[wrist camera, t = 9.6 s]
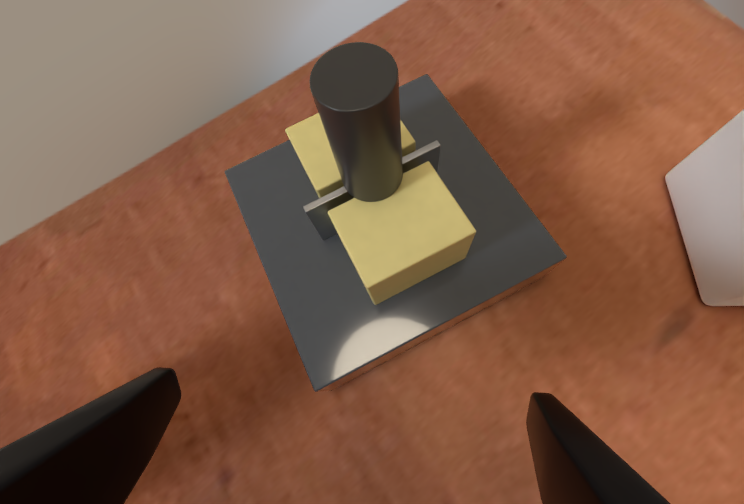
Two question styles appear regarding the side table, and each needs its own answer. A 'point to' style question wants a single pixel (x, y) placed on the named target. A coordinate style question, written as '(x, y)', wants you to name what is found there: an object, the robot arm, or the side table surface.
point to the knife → (361, 127)
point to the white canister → (713, 213)
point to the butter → (389, 218)
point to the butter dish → (338, 274)
